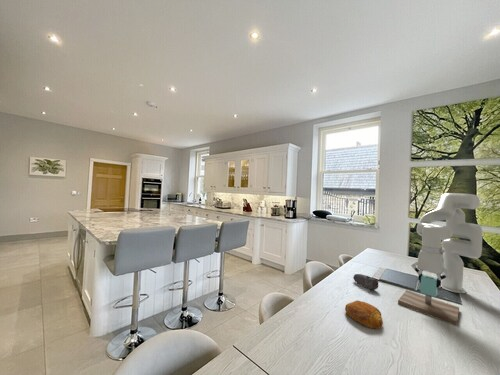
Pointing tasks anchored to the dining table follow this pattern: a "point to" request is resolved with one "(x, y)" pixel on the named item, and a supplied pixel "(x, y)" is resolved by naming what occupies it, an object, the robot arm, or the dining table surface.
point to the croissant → (364, 314)
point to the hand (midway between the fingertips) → (429, 284)
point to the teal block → (428, 285)
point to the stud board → (430, 306)
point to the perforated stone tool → (366, 281)
